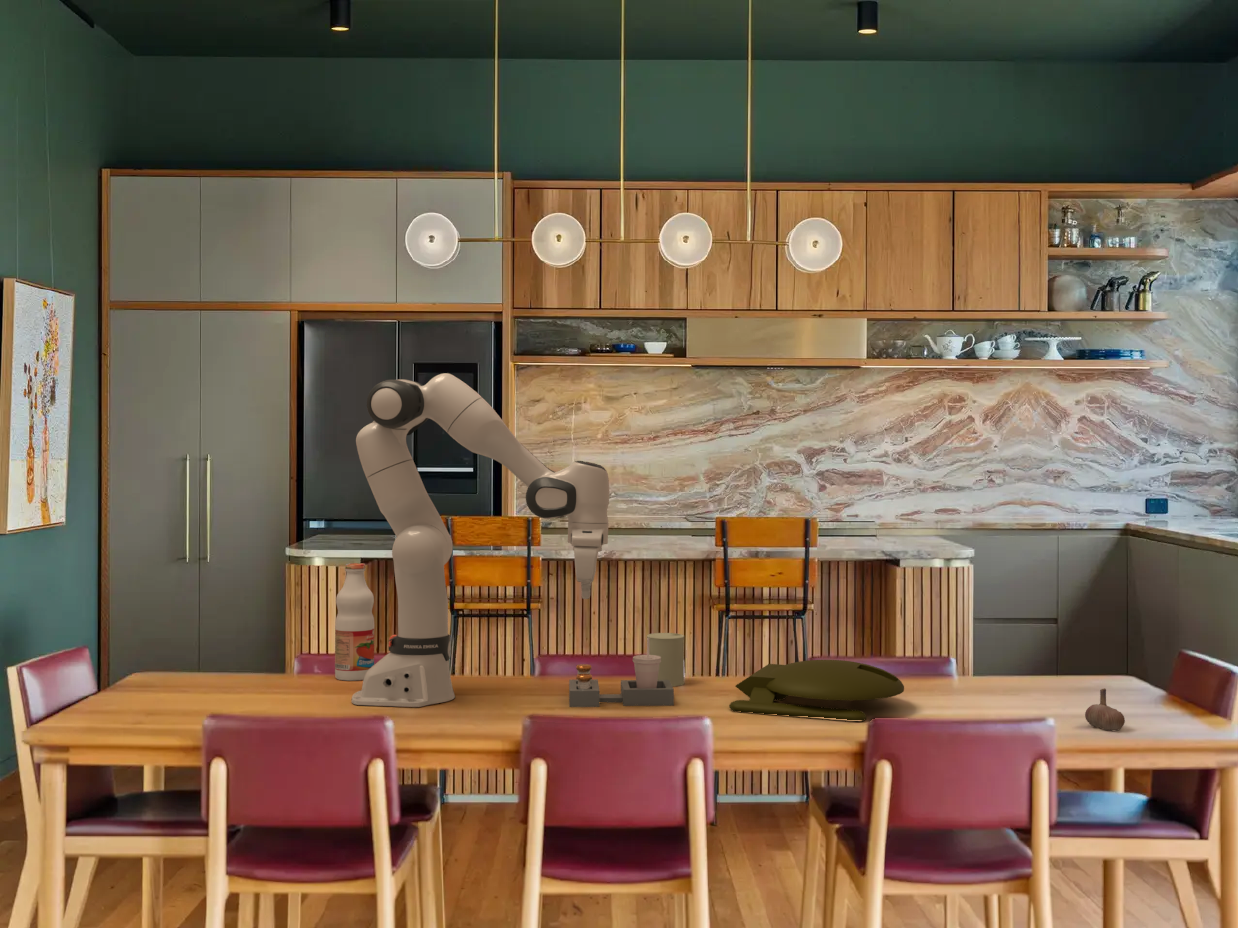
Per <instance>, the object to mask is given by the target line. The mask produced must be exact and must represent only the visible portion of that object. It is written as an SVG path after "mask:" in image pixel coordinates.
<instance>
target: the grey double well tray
mask: <svg viewBox="0 0 1238 928" xmlns="http://www.w3.org/2000/svg"><path fill="white" fill-rule="evenodd" d="M568 686H569V687H568V688H569V689H568V691H569V692H568V693H569V694H568V695H569V696H568V697H569V699H568V700H569V701H568V702H569V703H568V704H569V705H568V706H569V707H568V708H599V707H600V703H599V702H607V703H622V705H623V707H624V706H625V707H627V706H629V707H631V706H632V707H634V706H636V707H637V706H638V707H641V706H643V707H644V706H646V707H647V706H648V707H649V706H652V707H653V706H655V707H657V706H662V707H663V706H666V707H667V706H674V703H675V702H674V701H675V700H674V699H675V697H674V696H675V695H674V694H675V690H674V687H672V685H671V683H670V681H669V680H657V688H637V683H636V679H621V680H620V694H619V693H617V694H616V693H615V694H613V693H612V694H611V693H610V694H609V693H607V694H606V693H603V694H601V693H600V692H601V691H600V686H599V679H593V678H592V679H591V689H578V679H569V681H568Z"/></svg>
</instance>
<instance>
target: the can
mask: <svg viewBox="0 0 1238 928" xmlns="http://www.w3.org/2000/svg"><path fill="white" fill-rule="evenodd" d="M647 638H649V655H656V656H660V657H661V662H660V664H659V672H658V680H669V681H670V683H671V685H672V687H673V688H675V687H681V686H683V685H685V676H684V675H685V674H684V673H685V668H684V667H685V664H684V663H685V661H684V660H685V658H684V657H685V656H684V655H685V635H684V634H681V633H675V632H655V633H649V634H647V635H646V639H647Z"/></svg>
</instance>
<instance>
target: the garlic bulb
mask: <svg viewBox="0 0 1238 928" xmlns="http://www.w3.org/2000/svg"><path fill="white" fill-rule="evenodd" d="M1099 695H1100V696H1099V697H1100V698H1099V704H1098V703H1096V704H1095V703H1094V704H1091V705H1090V706H1089V707H1087V709H1086V710H1085V712H1084V715H1085V716H1084V717H1085V720H1086V722H1087V723H1088V724H1089V725H1091V726H1092V727H1094V728H1100V729H1102V728H1103V730H1105V731H1111V730H1116V731H1119V730H1121V728H1123V727H1124V725H1125V722H1126V721H1125V715H1124V714H1123V713H1122V712H1121V711H1119V710H1117V708H1113V707H1111V706H1109V705H1107V689H1106V688H1101V689H1100V691H1099Z"/></svg>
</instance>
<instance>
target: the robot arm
mask: <svg viewBox="0 0 1238 928" xmlns="http://www.w3.org/2000/svg"><path fill="white" fill-rule="evenodd" d="M366 409H367V413H368V414H369V416H370V418H371V419H372V420H373V421H372V422H370V423H368V424H367V425H365V426H364V427H363V428H361V429H360V430H359V431H358V432H357V435H356V438H355V444H356V449H357V450H356V451H357V453H358V457H359V461H360V464H361V467H362V470H363V473H364V475H365V478H366V480H367V483H368V485H369V487H370V489H371V492H372V494H373V497H374V499H375V501H376V505H377V506H378V509H379V511H380V513H381V514H382V515H383V516H384V518H385V520H386V521H387V523H388V524H389V526H390V527H391V529H392V532H393V533H394V534H395V536H396V537H395V539H394V541H393V544H392V550H391V556H392V560H393V570H394V577H395V578H394V580H395V587H396V594H397V634H392V635H391V636H390V637H389V639H388V651H389V652H388V653H387V654H386V655H384V656H383V657H381V658H380V659H379V660H378V661H377V662H376V663H374V665H373V666H372V667H371V668H370V669H369V670H368V671H367V672H366V674H365V676H364V680H362V686H361V690H358V691H356V692H354V693H353V694H352V696H351V704H353V705H355V706H357V705H358V706H376V707H378V706H379V707H380V706H381V707H383V706H384V707H403V708H404V707H406V708H407V707H410V708H411V707H412V708H420V707H424V706H429V705H434V704H439V703H445V702H449V701H452V700H454V699H455V698H456V695H455V692H454V689H453V683H452V679H451V678H452V677H451V672H450V662H449V660H450V658H451V638H450V637H451V636H450V633H449V632H448V631H449V598H448V594H447V593H448V592H447V587H446V586H447V585H446V577H445V575H446V574H445V565H446V564H447V563H448V562H449V561H450V559H451V556H452V553H453V549H454V546H453V540H452V537H451V535H450V533H449V531H448V529H447V527H446V525H445V523H444V521H443V519H442V517H441V516H440V515H441V514H440V513H439V512H438V510H437V508H436V506H435V504H434V502H433V501H432V499H431V497H430V496H429V493H428V492H427V490H426V488H425V485H424V483H423V481H422V478H421V475H420V473H419V471H418V469H417V466H416V464H415V462H414V461H415V460H413V459H414V458H413V457H412V455H411V453H410V451H409V448H408V444H407V436H410V435H412V434H413V433H414V432H415V431H417V430H418V429H419V428H420V427H422V426H423V424H425V423H426V422H427V421H428V420H429V419H430V420H432V421H433V422H435V423H436V424H437V425H439V426H440V428H442V429H443V430H444V431H445V432H446V433H447V434H448V435H449V436H450V437H451V438H452V439H453V440H455V441H456V442H457V443H458V444H459V445H461V446H462V447H463V448H465V449H466V450H468V451H469V452H471V453H473V454H477V455H481V456H484V457H486V458H490V459H492V460H494V461H496V462H498V463H499V464H501V465H502V466H504V467H505V468H506V469H508V471H510V472H511V473H512V474H513V475H514V476H515V477H517V479H518V480H520V482H522V483H523V484H524V485H525V486H526V487H527V489H526V493H525V502H526V503H525V504H526V505H527V508H528V509H529V511H530V512H531V514H533V515H535V516H536V517H538V518H540V519H544V520H552V519H562V518H563V519H564V518H565V517H567V518H568V520H567V521H568V523H567V524H568V525H567V543H569V544H571V546H572V550H573V553H574V554H573V557H574V568H575V570H574V571H575V577H576V579H575V580H576V581H577V582H578V583H581V584H580V585H581V587H580V588H581V598H582V599H583V600H588V599H590V598H591V589H592V588H591V587H592V583H593V582H594V580H595V575H596V571H597V563H598V562H597V561H598V556H599V555H598V554H599V552H602V551H603V546H604V545H607V544H608V543H609V517H608V508H609V505H610V478H609V474H608V471H607V469H606V468H605V467H604V466H602V465H601V464H598V463H594V462H589V461H585V460H584V461H583V460H576V461H573V462H572V463H571V464H570V465H568V466H565V467H564V468H563V469H561V470H557V471H555V470H552V469H550V468H549V467H547V466H546V465H545V464H544V463H543V462H542V461H540V460H539V459H538V458H537V457H536V456H535V455H534V454H533V453H532V452H531V451H530V450H529V449H528V448H527V447H525V446H524V444H522V443H521V442H520V440H518V439H517V438H516V436H515V435H514V433H513V432H512V431H511V430H510V429H509V427H508V426H507V425H506V424H505V422H504V421H503V419H502V418H501V417H500V415H499V414H498V413H497V412H496V410H495V408H493V407H492V406H491V404H489V402H487V401H486V399H484V398H483V396H481V395H480V394H479V393H478V392H477V391H476V390H474V389H473V388H472V387H471V386H469V385H468V384H467V383H465V382H464V381H462V380H461V379H460V378H458V377H456V376H455V375H453V374H451V373H449V372H447V373H444V372H443V373H440V374H437V375H435V376H433V377H432V378H431V379H429V381H428V382H427V383H426V384H424V385H423V384H422V383H419V382H417V381H415V380H414V381H413V380H409V379H404V378H403V379H402V378H401V379H399V378H398V379H386V380H382V381H381V382H379V383H377V384H375V385H374V386H373V388H371V390H370V391H369V393H368V396H367V399H366Z"/></svg>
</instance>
